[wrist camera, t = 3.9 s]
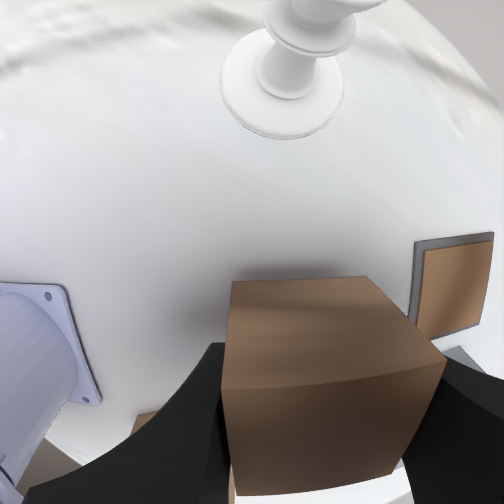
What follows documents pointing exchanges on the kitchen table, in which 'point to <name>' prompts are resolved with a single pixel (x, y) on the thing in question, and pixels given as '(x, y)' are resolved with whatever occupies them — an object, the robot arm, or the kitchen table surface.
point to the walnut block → (321, 383)
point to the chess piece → (291, 67)
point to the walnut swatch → (450, 283)
